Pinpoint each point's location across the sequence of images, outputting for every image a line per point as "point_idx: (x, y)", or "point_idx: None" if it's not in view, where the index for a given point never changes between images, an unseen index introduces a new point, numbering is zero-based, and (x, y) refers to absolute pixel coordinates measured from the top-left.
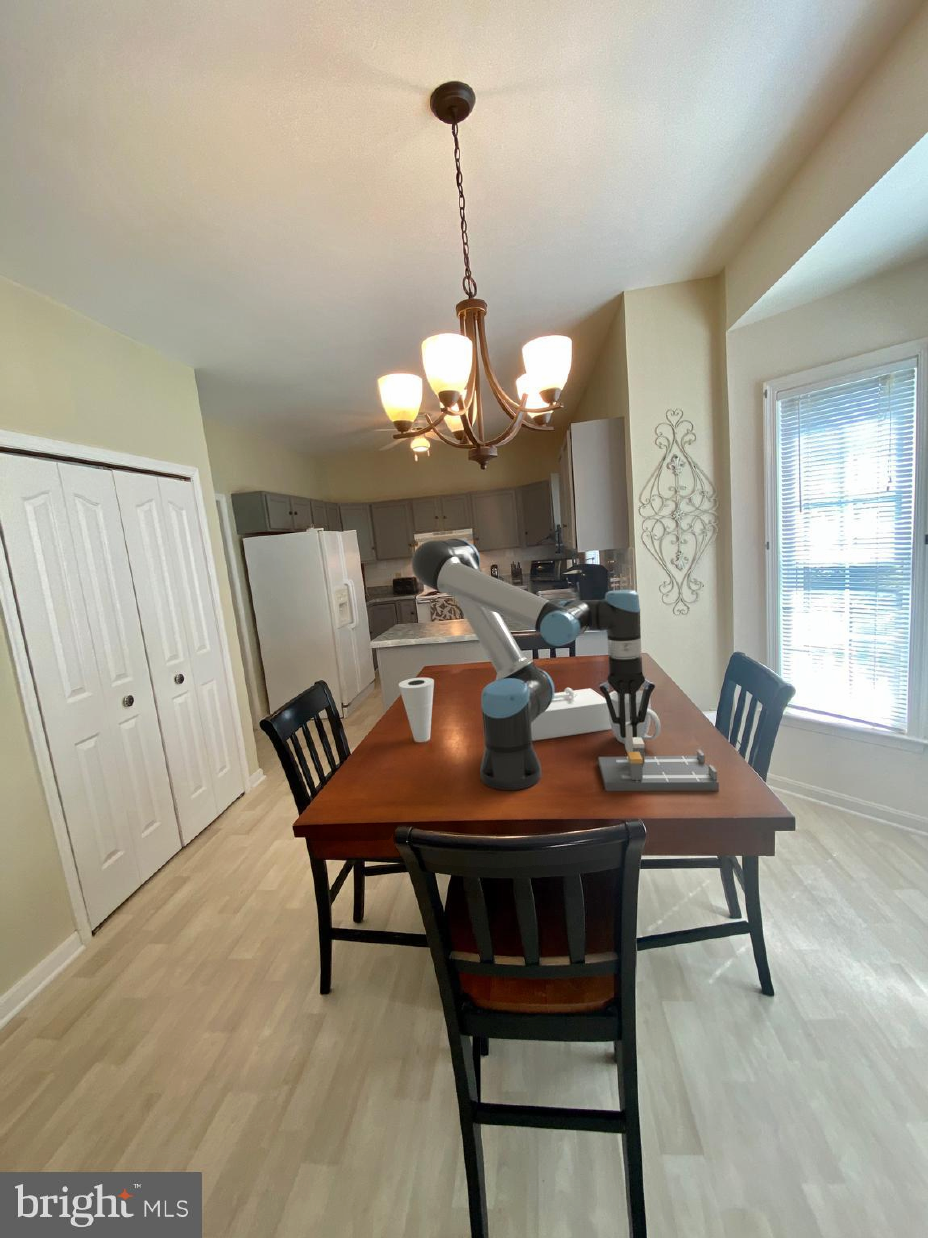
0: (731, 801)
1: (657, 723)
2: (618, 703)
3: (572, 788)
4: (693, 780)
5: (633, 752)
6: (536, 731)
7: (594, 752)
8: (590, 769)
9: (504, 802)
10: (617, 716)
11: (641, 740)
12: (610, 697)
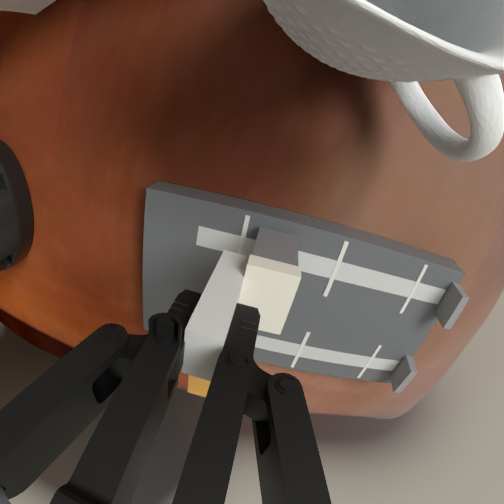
0: (376, 392)
1: (467, 161)
2: (96, 441)
3: (88, 283)
4: (351, 372)
5: None
6: (30, 1)
7: (170, 84)
8: (130, 206)
9: (11, 286)
10: (270, 5)
11: (284, 306)
12: (35, 479)
